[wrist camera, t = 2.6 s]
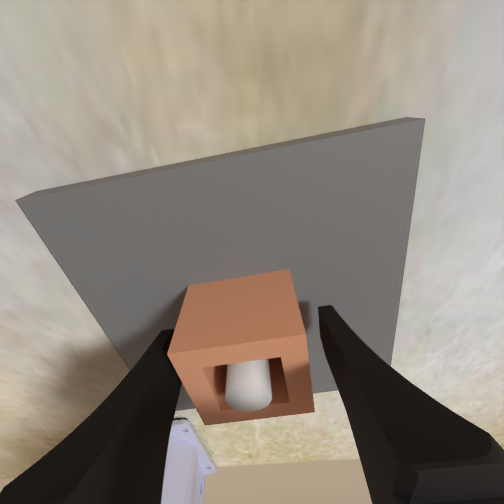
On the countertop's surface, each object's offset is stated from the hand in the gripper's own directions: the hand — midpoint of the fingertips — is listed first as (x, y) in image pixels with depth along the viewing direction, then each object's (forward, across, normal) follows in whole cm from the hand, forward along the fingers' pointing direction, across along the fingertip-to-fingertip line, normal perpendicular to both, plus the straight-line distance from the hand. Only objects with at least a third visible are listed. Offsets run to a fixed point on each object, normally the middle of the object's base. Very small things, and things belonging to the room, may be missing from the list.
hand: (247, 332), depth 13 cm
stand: (+2, 0, 0) cm, 2 cm away
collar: (+1, 0, 0) cm, 1 cm away
